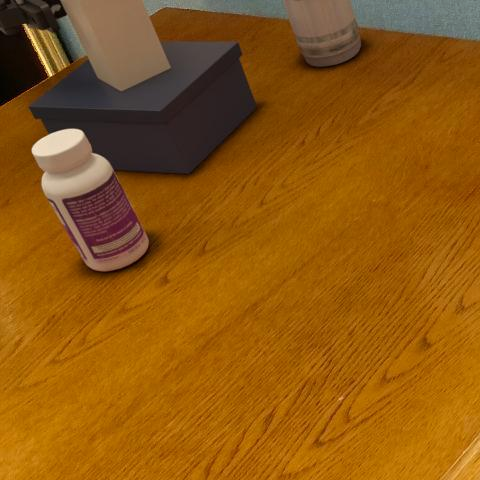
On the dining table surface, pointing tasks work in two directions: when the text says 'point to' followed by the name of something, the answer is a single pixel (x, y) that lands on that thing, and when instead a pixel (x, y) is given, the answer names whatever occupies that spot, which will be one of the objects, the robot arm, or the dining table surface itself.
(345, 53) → the camera lens
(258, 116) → the dining table surface
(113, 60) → the cream box
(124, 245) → the pill bottle
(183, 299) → the dining table surface
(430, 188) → the dining table surface
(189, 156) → the storage box
